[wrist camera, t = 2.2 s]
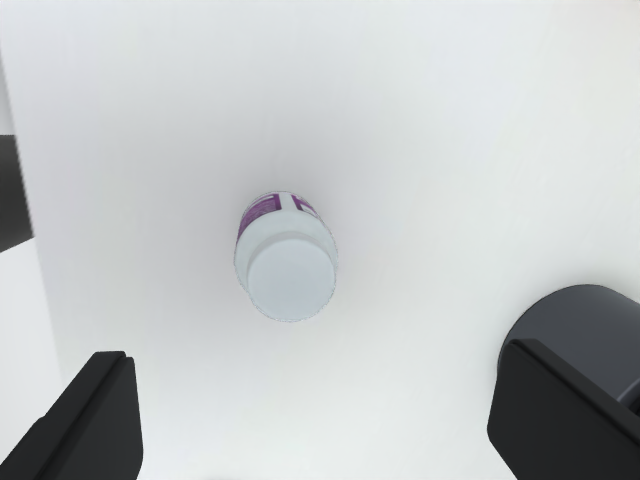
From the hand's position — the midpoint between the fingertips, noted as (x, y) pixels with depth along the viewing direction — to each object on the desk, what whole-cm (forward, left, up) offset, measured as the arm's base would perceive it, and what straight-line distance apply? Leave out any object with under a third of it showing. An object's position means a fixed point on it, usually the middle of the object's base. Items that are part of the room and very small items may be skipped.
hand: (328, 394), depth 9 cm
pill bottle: (0, 0, -17) cm, 17 cm away
